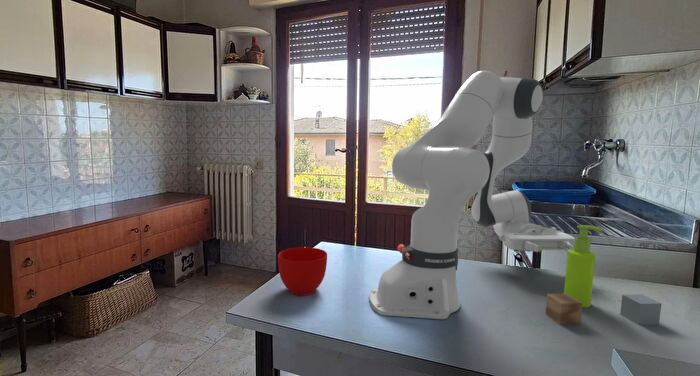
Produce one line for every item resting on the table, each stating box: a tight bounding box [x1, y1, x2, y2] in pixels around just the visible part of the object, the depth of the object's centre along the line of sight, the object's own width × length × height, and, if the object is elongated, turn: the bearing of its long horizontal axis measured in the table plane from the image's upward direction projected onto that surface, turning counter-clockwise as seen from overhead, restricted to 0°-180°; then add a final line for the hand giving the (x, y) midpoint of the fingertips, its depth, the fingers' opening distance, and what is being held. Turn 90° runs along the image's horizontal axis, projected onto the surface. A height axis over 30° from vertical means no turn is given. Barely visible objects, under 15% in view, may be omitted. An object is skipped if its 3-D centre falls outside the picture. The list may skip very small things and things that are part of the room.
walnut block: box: [545, 293, 583, 325], centre depth 83 cm, size 5×5×5 cm
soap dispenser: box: [563, 224, 604, 308], centre depth 91 cm, size 6×7×20 cm
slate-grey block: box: [619, 293, 663, 326], centre depth 84 cm, size 5×5×5 cm
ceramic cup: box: [277, 246, 328, 296], centre depth 98 cm, size 13×17×10 cm
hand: (555, 249), depth 102 cm, fingers open, 8 cm apart
